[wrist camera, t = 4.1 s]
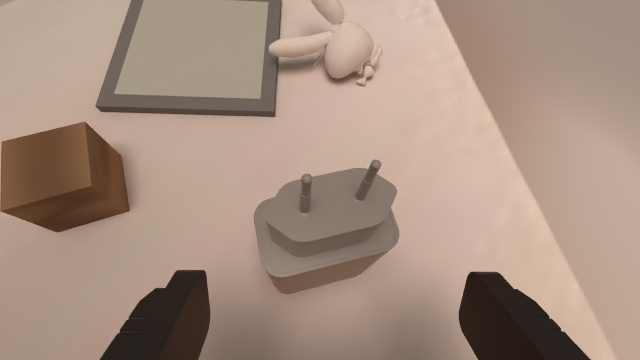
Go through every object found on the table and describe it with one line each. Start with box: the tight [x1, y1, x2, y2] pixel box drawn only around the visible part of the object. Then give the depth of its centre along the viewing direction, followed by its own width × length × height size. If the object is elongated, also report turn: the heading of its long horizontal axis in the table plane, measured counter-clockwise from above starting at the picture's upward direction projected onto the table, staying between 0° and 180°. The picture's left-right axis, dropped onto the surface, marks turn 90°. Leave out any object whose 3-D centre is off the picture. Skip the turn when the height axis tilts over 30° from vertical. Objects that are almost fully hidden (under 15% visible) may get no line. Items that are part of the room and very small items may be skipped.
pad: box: [96, 0, 281, 117], centre depth 25 cm, size 12×12×1 cm
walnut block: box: [0, 122, 129, 232], centre depth 18 cm, size 4×4×4 cm
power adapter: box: [254, 160, 399, 294], centre depth 13 cm, size 3×5×12 cm, turn 104°
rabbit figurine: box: [269, 0, 382, 86], centre depth 23 cm, size 6×4×8 cm
